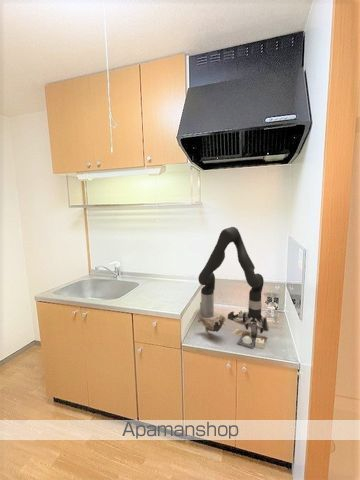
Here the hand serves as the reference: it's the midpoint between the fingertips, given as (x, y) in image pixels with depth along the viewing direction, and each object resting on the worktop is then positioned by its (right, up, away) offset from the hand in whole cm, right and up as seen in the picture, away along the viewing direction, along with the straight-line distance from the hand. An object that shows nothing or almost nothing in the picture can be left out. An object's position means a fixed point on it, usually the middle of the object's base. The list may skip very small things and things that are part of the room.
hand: (254, 330), depth 149 cm
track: (-2, -4, +2) cm, 5 cm away
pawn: (0, -4, +1) cm, 4 cm away
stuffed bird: (-26, -5, +1) cm, 27 cm away
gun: (0, -2, +16) cm, 16 cm away
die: (+1, -6, -9) cm, 11 cm away
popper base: (-6, -6, -6) cm, 10 cm away
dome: (-6, -6, -6) cm, 10 cm away
